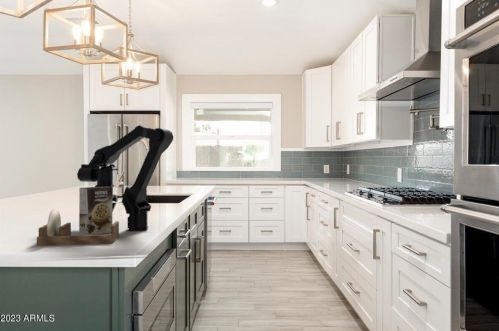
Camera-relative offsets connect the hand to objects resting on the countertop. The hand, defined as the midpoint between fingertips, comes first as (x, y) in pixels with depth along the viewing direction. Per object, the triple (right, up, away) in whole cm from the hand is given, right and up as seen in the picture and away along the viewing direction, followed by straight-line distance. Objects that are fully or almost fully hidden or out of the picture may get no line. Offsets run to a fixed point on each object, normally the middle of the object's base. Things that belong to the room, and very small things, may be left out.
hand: (104, 223), depth 138 cm
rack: (+2, -2, -24) cm, 24 cm away
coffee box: (+2, -2, -12) cm, 13 cm away
